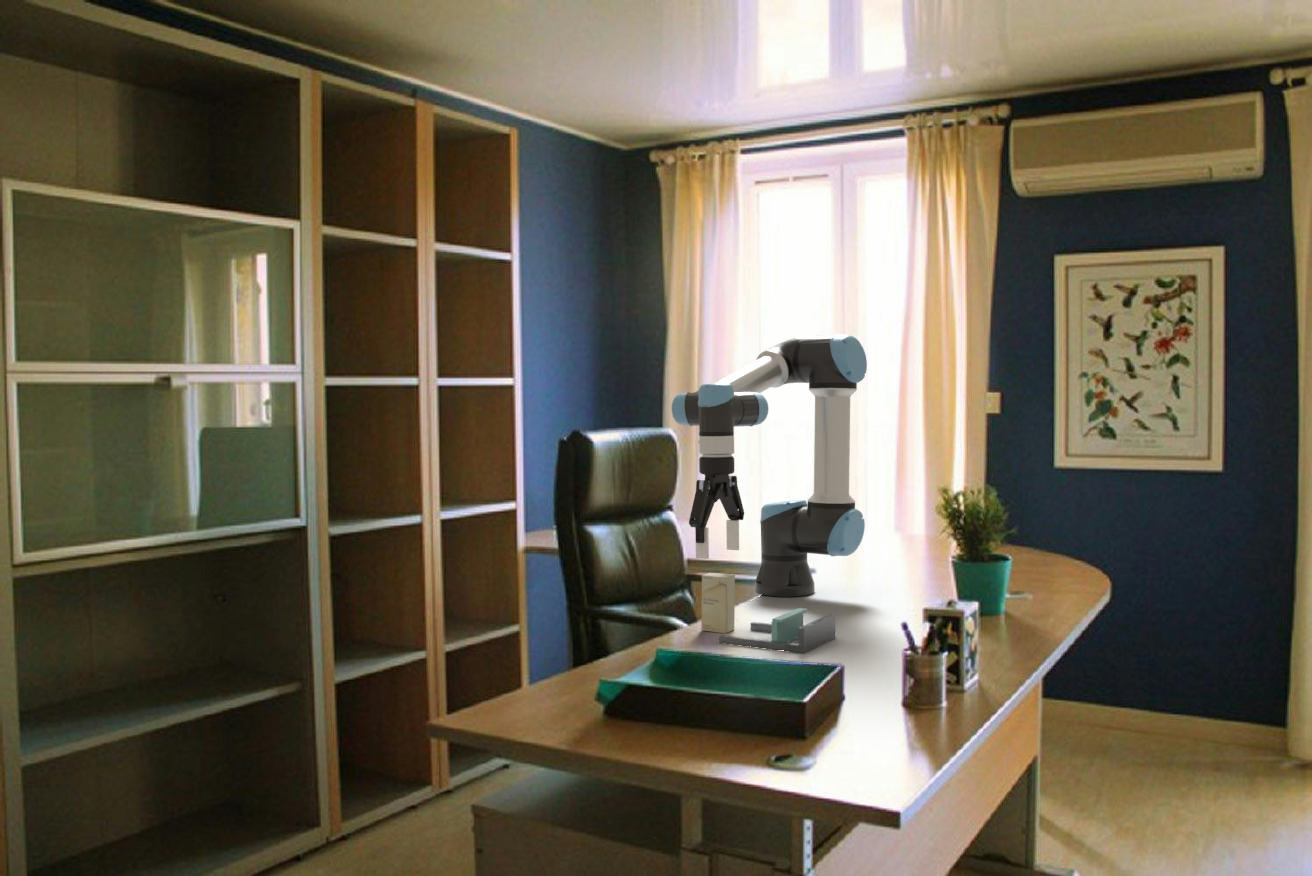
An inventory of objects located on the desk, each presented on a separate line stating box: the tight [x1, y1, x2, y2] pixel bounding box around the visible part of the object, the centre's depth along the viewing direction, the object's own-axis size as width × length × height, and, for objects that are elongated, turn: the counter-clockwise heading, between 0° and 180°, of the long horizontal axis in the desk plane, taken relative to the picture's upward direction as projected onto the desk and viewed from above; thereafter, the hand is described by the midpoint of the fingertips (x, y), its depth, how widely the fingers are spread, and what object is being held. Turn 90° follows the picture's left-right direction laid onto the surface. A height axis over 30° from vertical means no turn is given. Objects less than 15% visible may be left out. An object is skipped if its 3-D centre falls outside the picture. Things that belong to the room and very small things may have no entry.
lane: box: [718, 613, 837, 655], centre depth 233 cm, size 15×19×5 cm
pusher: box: [771, 607, 809, 643], centre depth 231 cm, size 12×4×6 cm, turn 148°
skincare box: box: [700, 572, 736, 634], centre depth 243 cm, size 6×4×12 cm
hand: (718, 554), depth 243 cm, fingers open, 13 cm apart
